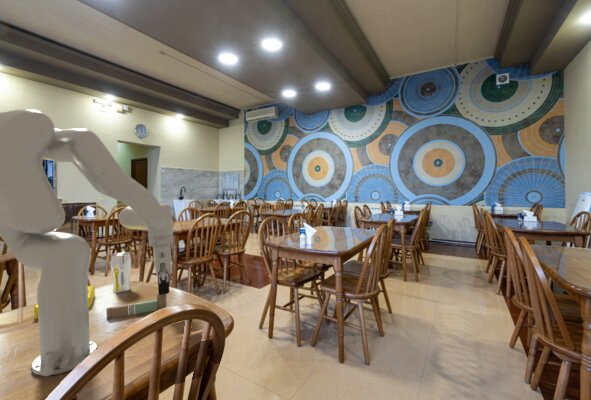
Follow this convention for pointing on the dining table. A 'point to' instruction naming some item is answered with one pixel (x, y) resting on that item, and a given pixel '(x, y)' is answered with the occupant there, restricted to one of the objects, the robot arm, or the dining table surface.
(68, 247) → the robot arm
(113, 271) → the beer glass
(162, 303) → the hinged panel
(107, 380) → the dining table surface
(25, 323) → the dining table surface
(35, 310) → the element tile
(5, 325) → the dining table surface
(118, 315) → the flat brown box
